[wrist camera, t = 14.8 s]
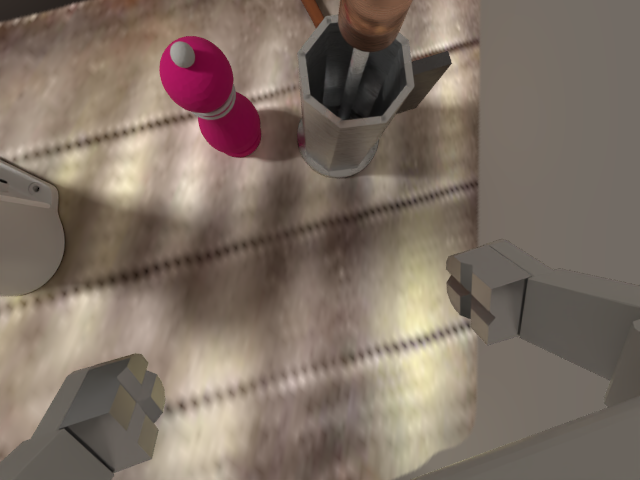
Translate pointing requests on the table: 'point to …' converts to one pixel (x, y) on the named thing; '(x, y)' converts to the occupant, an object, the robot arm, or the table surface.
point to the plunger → (366, 38)
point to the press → (370, 101)
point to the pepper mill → (210, 95)
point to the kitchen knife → (313, 11)
